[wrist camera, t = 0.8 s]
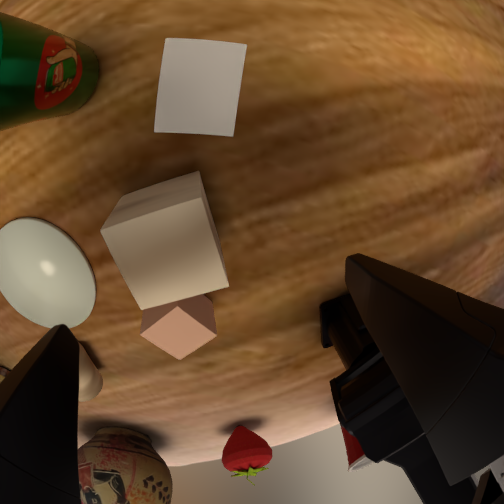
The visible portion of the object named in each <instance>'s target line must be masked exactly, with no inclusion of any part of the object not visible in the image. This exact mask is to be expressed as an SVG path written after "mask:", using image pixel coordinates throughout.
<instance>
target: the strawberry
mask: <svg viewBox="0 0 504 504" xmlns="http://www.w3.org/2000/svg"><path fill="white" fill-rule="evenodd" d="M271 458H272V449H271V448H270V446H269V445H268V443H267V442H266V441H265V440H264V439H263V438H261V437H260V436H258V435H257V434H256V433H254V432H252V431H250V430H248V429H247V428H246V427H244V426H237V427H236V428H235V429H234V431H233V433H232V435H231V436H230V438H229V439H228V441H227V443H226V445H225V447H224V449H223V455H222V463H223V465H224V467H225V468H226V469H228V470H229V471H232V472H235V473H238V474H235V475H233V476H243V475H247V478H248V475H251V476H256V474H257V473H255V472H259V471H263V470H266V469H268V468H265V467H263V466H264V465H266V464H268V463H269V461H270V460H271ZM233 476H232V477H233ZM247 480H248V479H247ZM249 481H250V480H249ZM250 482H251V481H250ZM251 483H252V482H251ZM253 485H254V484H253Z"/></svg>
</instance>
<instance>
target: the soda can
mask: <svg viewBox="0 0 504 504" xmlns="http://www.w3.org/2000/svg"><path fill="white" fill-rule="evenodd" d="M98 75H99V64H98V59H97V56H96V54H95V53H94V51H93V50H92V49H91V48H90V47H89V46H87V45H85V44H83V43H81V42H79V41H77V40H74V39H72V38H70V37H67V36H65V35H63V34H60V33H58V32H55V31H53V30H50V29H48V28H45V27H43V26H40V25H37V24H35V23H32V22H29V21H26V20H23V19H20V18H17V17H14V16H11V15H8V14H4V13H1V12H0V131H3V130H6V129H9V128H13V127H16V126H20V125H24V124H28V123H32V122H36V121H40V120H45V119H49V118H54V117H59V116H64V115H67V114H70V113H72V112H74V111H76V110H77V109H79V108H80V107H81V106H82V105H83V104H84V103H85V102H86V101H87V100H88V98H89V97H90V96H91V94H92V92H93V91H94V89H95V86H96V84H97V80H98Z"/></svg>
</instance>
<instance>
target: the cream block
mask: <svg viewBox="0 0 504 504" xmlns="http://www.w3.org/2000/svg"><path fill="white" fill-rule="evenodd" d="M246 48H247V44H240V43H232V42H224V41H214V40H202V39H184V38H166V40H165V45H164V51H163V57H162V64H161V71H160V78H159V86H158V95H157V104H156V114H155V126H154V132H166V133H191V134H208V135H221V136H232V137H233V135H234V127H235V120H236V113H237V106H238V99H239V92H240V86H241V79H242V73H243V66H244V60H245V54H246Z"/></svg>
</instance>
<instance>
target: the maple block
mask: <svg viewBox="0 0 504 504" xmlns="http://www.w3.org/2000/svg"><path fill="white" fill-rule="evenodd" d="M100 231H101V234H102V236H103V238H104V240H105V242H106V244H107V246H108V248H109V251H110V253H111V255H112V257H113V259H114V261H115V263H116V265H117V267H118V268H119V270H120V272H121V274H122V276H123V278H124V280H125V282H126V284H127V286H128V287H129V289H130V291H131V293H132V295H133V296H134V298H135V300H136V302H137V303H138V305H139V307H140V309H141V310H143V309H147V308H151V307H155V306H159V305H163V304H167V303H170V302H174V301H178V300H182V299H185V298H189V297H193V296H196V295H200V294H204V293H207V292H211V291H215V290H218V289H222V288H225V287H229V283H228V278H227V274H226V269H225V264H224V259H223V255H222V250H221V245H220V241H219V237H218V234H217V231H216V227H215V224H214V221H213V217H212V214H211V210H210V207H209V204H208V200H207V197H206V193H205V190H204V186H203V183H202V179H201V176H200V172H199V171H196V172H193V173H189V174H186V175H183V176H180V177H176V178H173V179H170V180H167V181H164V182H161V183H158V184H155V185H152V186H149V187H146V188H143V189H140V190H137V191H134V192H131V193H129V194H126V195H123V196H122V197H121V198H120V200H119V201H118V203H117V204H116V206H115V207H114V209H113V211H112V212H111V214H110V215H109V217H108V218H107V220H106V222H105V223H104V225H103V226H102V228H101V230H100Z"/></svg>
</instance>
